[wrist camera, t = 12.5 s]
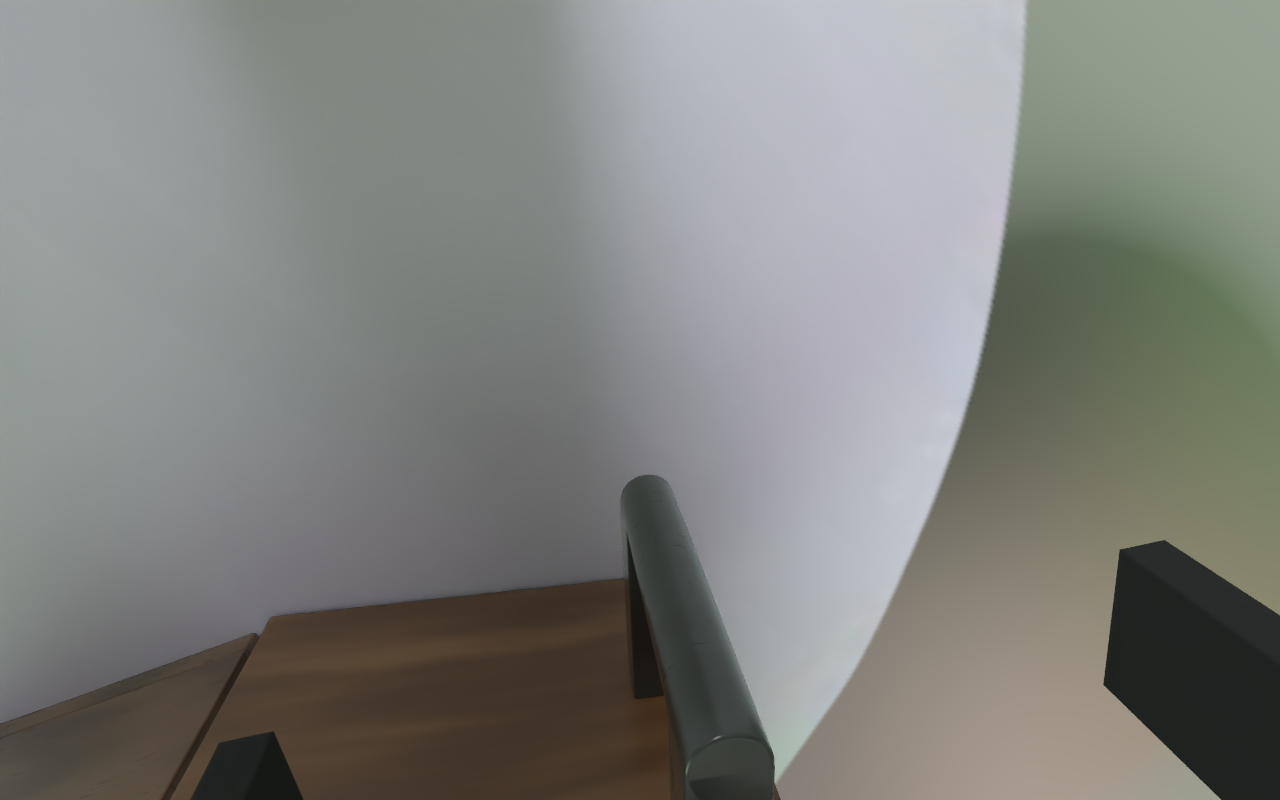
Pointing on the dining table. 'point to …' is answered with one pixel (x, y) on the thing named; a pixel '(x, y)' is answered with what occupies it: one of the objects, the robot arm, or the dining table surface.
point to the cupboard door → (515, 689)
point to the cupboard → (121, 733)
